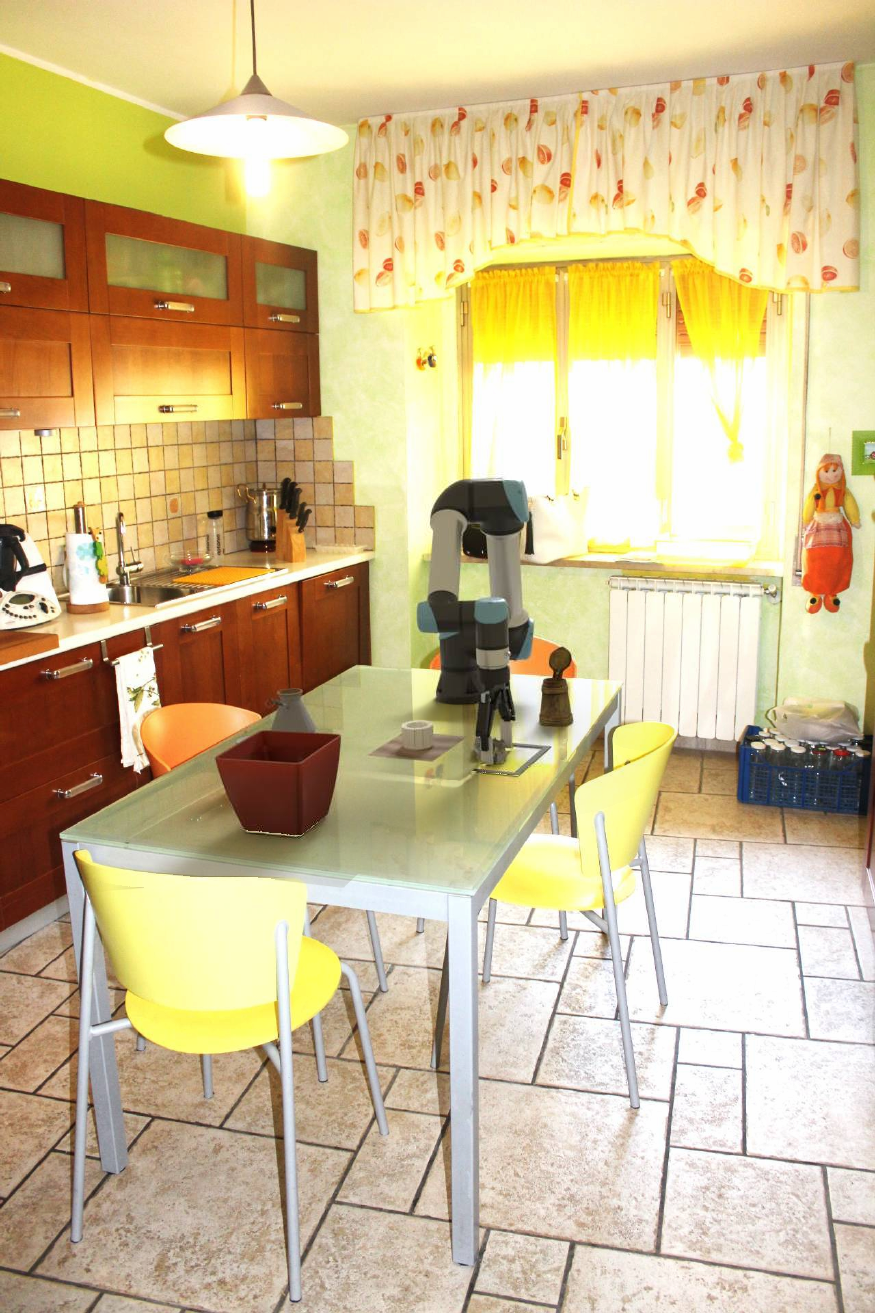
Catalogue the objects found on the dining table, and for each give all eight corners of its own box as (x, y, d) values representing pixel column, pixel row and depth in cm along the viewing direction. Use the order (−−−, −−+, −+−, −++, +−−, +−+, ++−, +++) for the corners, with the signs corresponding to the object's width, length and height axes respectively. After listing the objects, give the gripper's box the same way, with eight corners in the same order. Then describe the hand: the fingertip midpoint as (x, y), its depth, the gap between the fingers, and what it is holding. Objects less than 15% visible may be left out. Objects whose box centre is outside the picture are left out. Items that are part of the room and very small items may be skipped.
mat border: (478, 740, 273) (478, 739, 273) (551, 747, 265) (551, 746, 265) (440, 768, 254) (440, 767, 253) (518, 776, 245) (518, 775, 245)
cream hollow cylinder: (411, 739, 272) (410, 719, 271) (438, 742, 269) (437, 721, 268) (397, 748, 266) (396, 728, 265) (425, 751, 263) (424, 730, 262)
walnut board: (405, 735, 280) (405, 731, 280) (467, 741, 273) (466, 736, 273) (368, 759, 263) (367, 754, 262) (432, 766, 255) (432, 761, 255)
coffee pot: (279, 733, 288) (275, 677, 285) (322, 733, 286) (317, 677, 283) (251, 759, 268) (245, 699, 264) (296, 759, 265) (291, 699, 262)
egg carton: (506, 764, 254) (506, 747, 253) (473, 765, 255) (473, 748, 254) (506, 749, 265) (506, 733, 264) (475, 750, 265) (474, 734, 264)
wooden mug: (581, 712, 293) (579, 646, 289) (568, 727, 280) (567, 658, 276) (548, 711, 296) (546, 645, 292) (534, 725, 283) (532, 657, 279)
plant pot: (220, 838, 219) (212, 756, 215) (267, 804, 236) (261, 728, 232) (306, 847, 212) (299, 763, 208) (348, 812, 229) (343, 734, 226)
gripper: (488, 678, 242) (492, 773, 247) (526, 654, 263) (530, 742, 268) (457, 676, 245) (462, 770, 250) (497, 652, 266) (501, 739, 271)
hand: (497, 755), depth 259 cm, fingers closed on egg carton, 11 cm apart
